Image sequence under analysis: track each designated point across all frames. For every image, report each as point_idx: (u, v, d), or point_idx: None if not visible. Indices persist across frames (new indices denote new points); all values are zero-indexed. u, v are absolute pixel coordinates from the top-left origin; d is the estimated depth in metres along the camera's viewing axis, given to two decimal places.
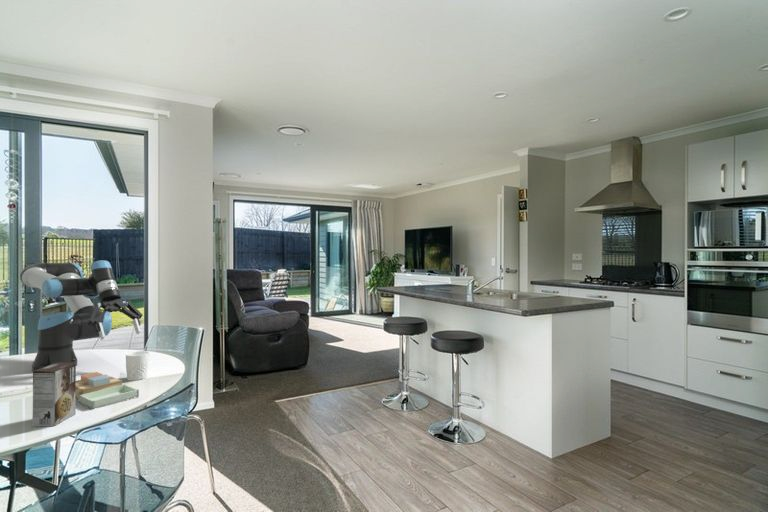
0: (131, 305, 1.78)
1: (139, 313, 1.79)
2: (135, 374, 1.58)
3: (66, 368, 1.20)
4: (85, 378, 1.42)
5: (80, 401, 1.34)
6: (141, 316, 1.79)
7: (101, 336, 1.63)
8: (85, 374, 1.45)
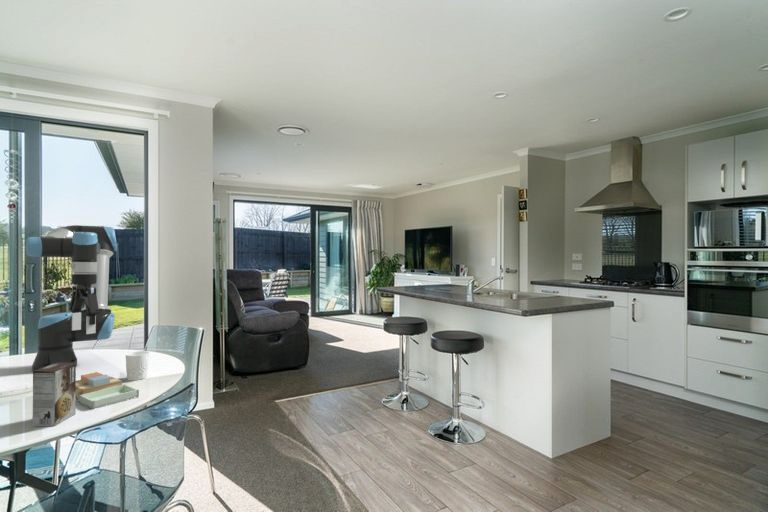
0: (88, 297, 1.45)
1: (90, 310, 1.44)
2: (135, 374, 1.58)
3: (66, 368, 1.20)
4: (85, 378, 1.42)
5: (80, 401, 1.34)
6: (91, 314, 1.44)
7: None
8: (85, 374, 1.45)
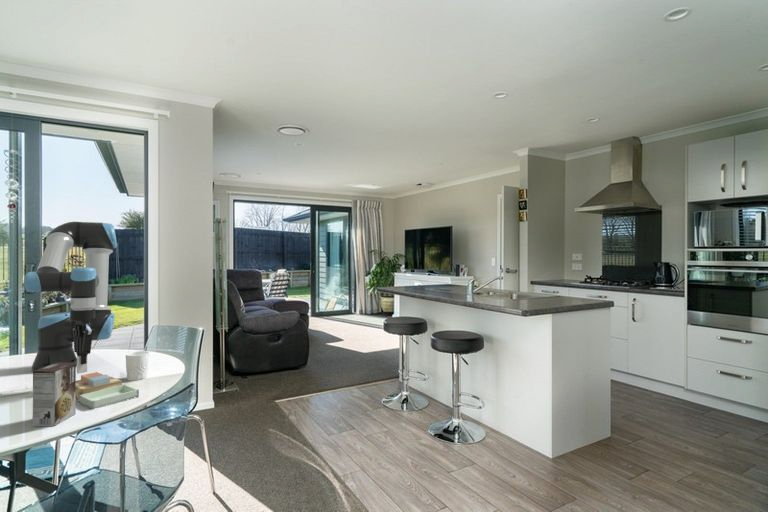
0: (84, 337, 1.46)
1: (82, 350, 1.47)
2: (135, 374, 1.58)
3: (66, 368, 1.20)
4: (85, 378, 1.42)
5: (80, 401, 1.34)
6: (82, 354, 1.47)
7: None
8: (85, 374, 1.45)
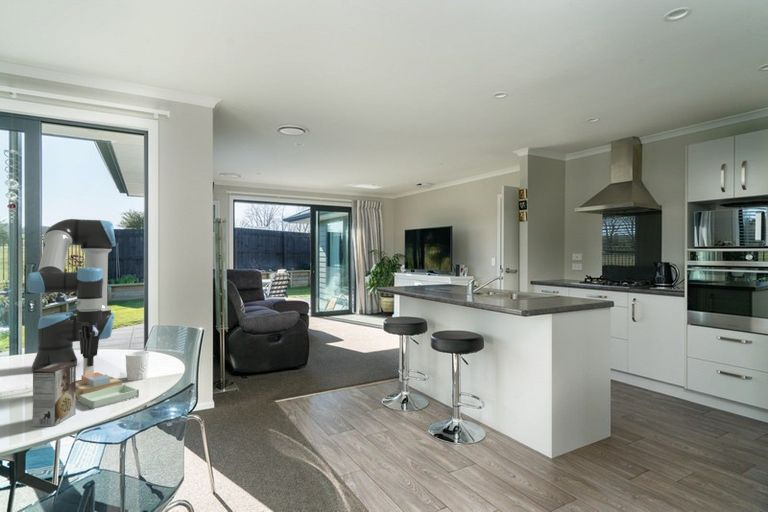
0: (90, 339, 1.43)
1: (88, 352, 1.44)
2: (135, 374, 1.58)
3: (66, 368, 1.20)
4: (86, 378, 1.42)
5: (80, 401, 1.34)
6: None
7: None
8: None
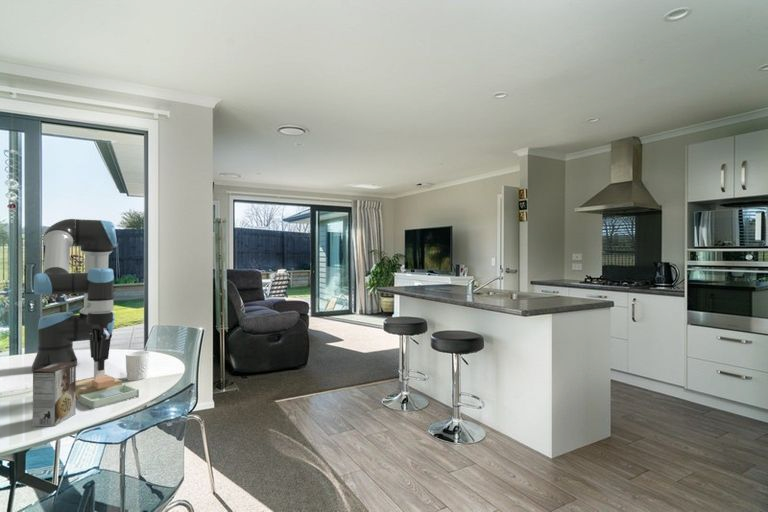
0: (101, 342, 1.38)
1: (99, 355, 1.39)
2: (135, 374, 1.58)
3: (66, 368, 1.20)
4: (96, 383, 1.37)
5: (80, 401, 1.34)
6: (99, 359, 1.39)
7: None
8: None
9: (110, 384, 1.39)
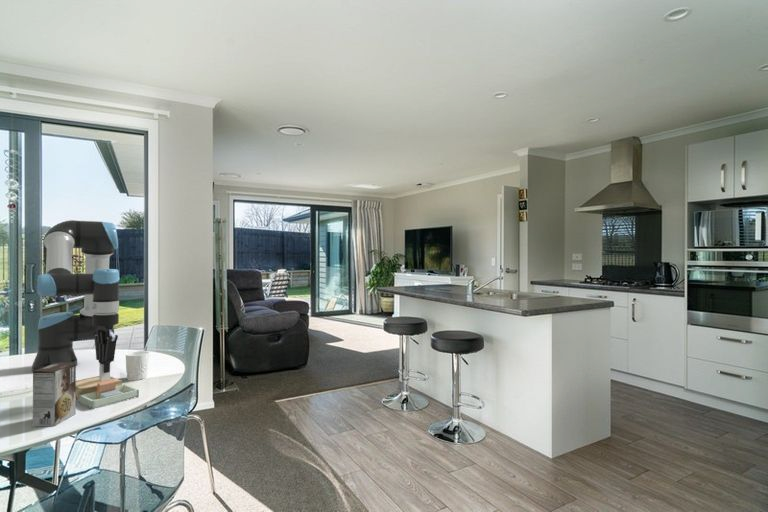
0: (107, 344, 1.36)
1: (105, 358, 1.37)
2: (135, 374, 1.58)
3: (66, 368, 1.20)
4: (98, 395, 1.36)
5: (80, 401, 1.34)
6: (105, 362, 1.37)
7: None
8: (104, 384, 1.37)
9: None
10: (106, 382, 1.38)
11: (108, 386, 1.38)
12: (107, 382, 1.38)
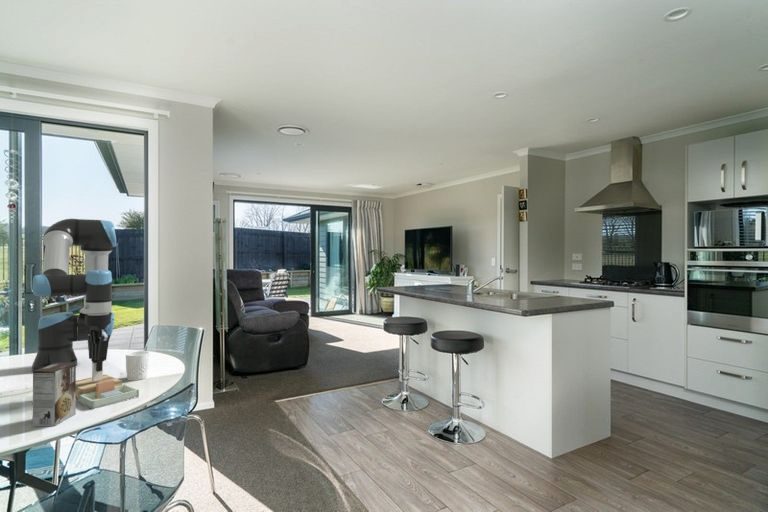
0: (99, 343, 1.39)
1: (98, 357, 1.40)
2: (135, 374, 1.58)
3: (66, 368, 1.20)
4: (97, 395, 1.37)
5: (80, 401, 1.34)
6: None
7: None
8: (102, 383, 1.38)
9: None
10: (104, 381, 1.39)
11: (107, 385, 1.39)
12: (105, 381, 1.39)
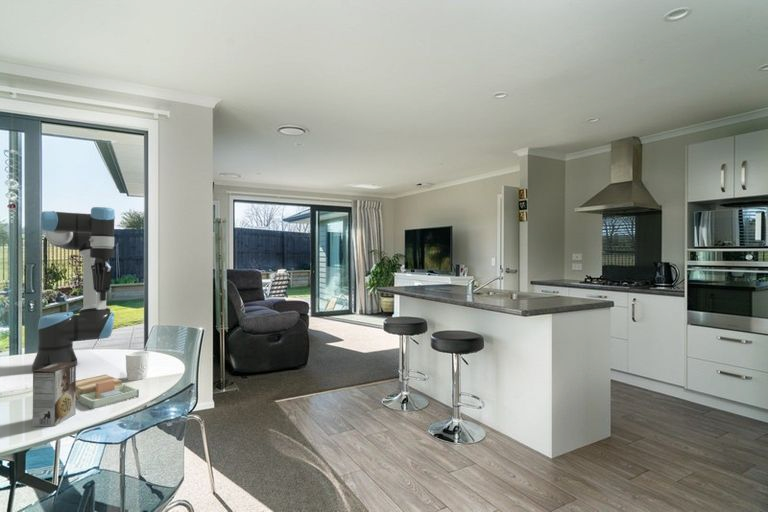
0: (103, 274, 1.51)
1: (102, 286, 1.52)
2: (135, 374, 1.58)
3: (66, 368, 1.20)
4: (97, 395, 1.37)
5: (80, 401, 1.34)
6: None
7: None
8: (102, 383, 1.38)
9: None
10: (104, 381, 1.39)
11: (107, 385, 1.39)
12: (105, 381, 1.39)
